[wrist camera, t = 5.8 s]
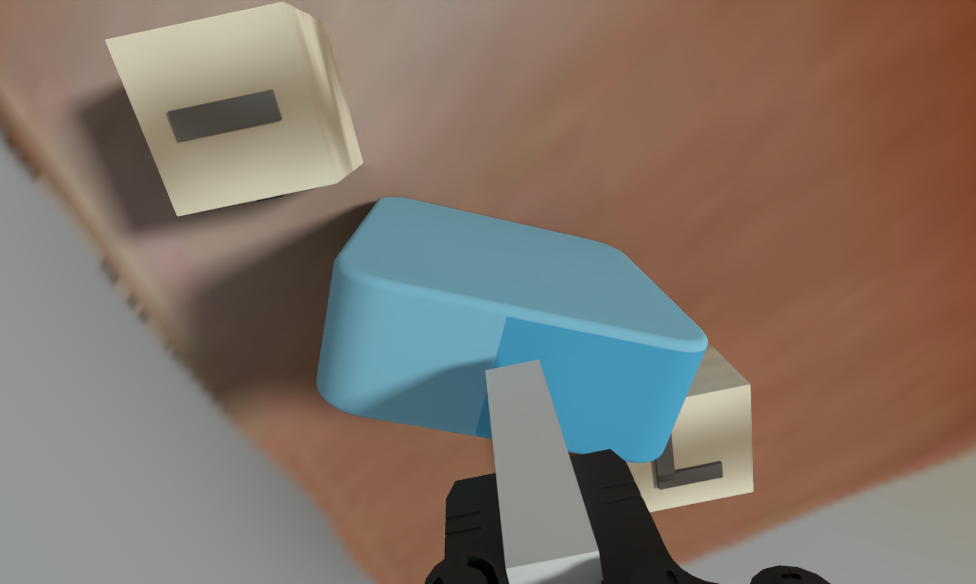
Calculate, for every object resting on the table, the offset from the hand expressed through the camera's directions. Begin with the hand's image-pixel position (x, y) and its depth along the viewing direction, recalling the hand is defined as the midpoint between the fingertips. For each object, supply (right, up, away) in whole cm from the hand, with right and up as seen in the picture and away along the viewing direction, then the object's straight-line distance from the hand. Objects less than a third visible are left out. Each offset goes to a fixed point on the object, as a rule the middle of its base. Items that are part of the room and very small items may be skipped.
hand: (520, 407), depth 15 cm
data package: (-1, +5, +12) cm, 13 cm away
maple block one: (-10, +11, +9) cm, 18 cm away
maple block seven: (+8, -2, +15) cm, 17 cm away
